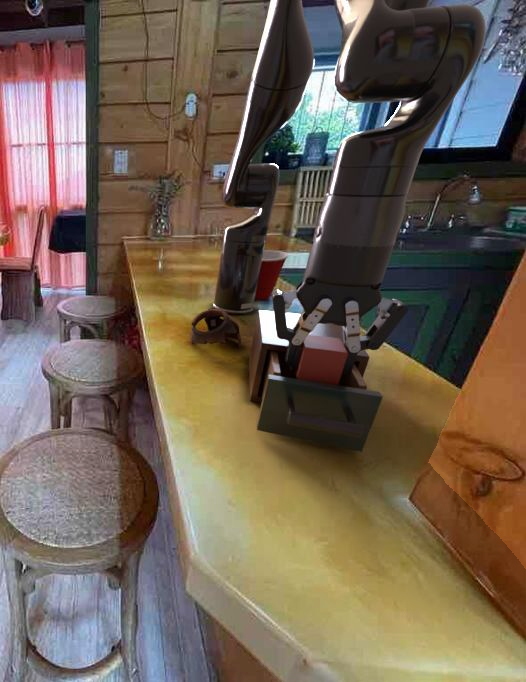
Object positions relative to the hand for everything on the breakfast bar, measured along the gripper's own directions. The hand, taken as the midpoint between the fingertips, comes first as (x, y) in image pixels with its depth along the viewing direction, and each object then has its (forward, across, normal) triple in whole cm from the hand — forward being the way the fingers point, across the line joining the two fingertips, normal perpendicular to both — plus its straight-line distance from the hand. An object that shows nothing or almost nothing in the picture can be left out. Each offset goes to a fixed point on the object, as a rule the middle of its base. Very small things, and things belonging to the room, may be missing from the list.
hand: (315, 370), depth 49 cm
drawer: (+7, 0, +1) cm, 7 cm away
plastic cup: (+9, +4, -59) cm, 60 cm away
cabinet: (+8, 0, -11) cm, 14 cm away
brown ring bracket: (+9, +13, -24) cm, 29 cm away
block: (0, 0, 0) cm, 0 cm away
